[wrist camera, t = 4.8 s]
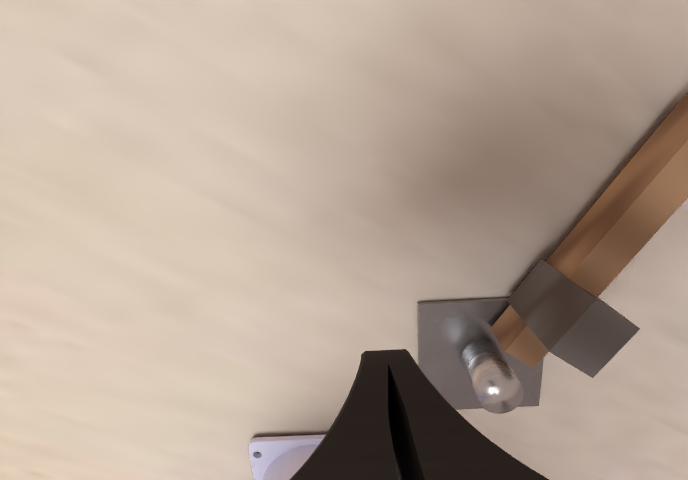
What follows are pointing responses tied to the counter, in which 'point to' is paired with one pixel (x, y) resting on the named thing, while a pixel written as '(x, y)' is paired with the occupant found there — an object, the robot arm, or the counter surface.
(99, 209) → the counter surface
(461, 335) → the pivot base
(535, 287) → the lever
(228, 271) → the counter surface
